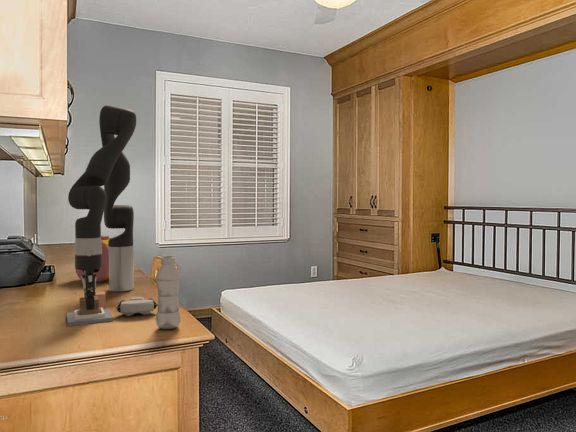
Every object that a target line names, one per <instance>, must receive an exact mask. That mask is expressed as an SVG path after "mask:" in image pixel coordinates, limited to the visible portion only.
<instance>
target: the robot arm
mask: <svg viewBox="0 0 576 432" xmlns="http://www.w3.org/2000/svg"><path fill="white" fill-rule="evenodd" d="M98 121H99V123H98V125H99V134H100V141H101V145H102V146H101V148H100V149H98V150H97V151H95V152H94V153H93V155H92V156H91V157H90V159H89V162H88V164H87V167H86V168H85V171H84V172H83V174H82V175H81V176H79V178H78V179H77V180H76V181H75V182H74V184H72V186H71V188H70V190H69V191H68V198H67V200H68V204H69V205H70V207H72V208H73V209H76V210H88V213H87V215H86V216H83V217H80V218H77V219H76V220H75V223H74V227H75V228H74V229H75V230H74V231H75V233H74V234H75V235H74V236H75V237H74V269H75V268H76V269H77V270H83V275H81V278H82V279H81V285H82V287H83V288H82V289H83V292H84V297H86V309H87V310H93V309H94V297H95V294H96V293H95V292H96V289H97V282H96V274H94V272H93V271H94V269H99V268H101V267H102V242H101V235H102V233H101V232H102V230H101V228H102V226H101V225H102V220H103V221H104V225H105V227H106V228H107V229H115V230H117V229H124V231H123V232H121V233H120V234H119V235H118V234H117V236H113V237H109V238H110V239H109V241H108V252H109V279H108V291H110V292H127V291H133V290H134V287H135V285H134V284H135V281H134V280H135V279H134V278H135V276H134V274H135V273H134V272H135V271H134V270H135V269H134V267H135V265H134V219H135V218H134V216H135V213H134V212H135V211H134V208H133V206H132V205H130V204H115V202H116V200H117V199H118V197H119V196H120V195H121V194H122V193H123V192H124V190H126V189H127V187H128V185H129V184H130V181H131V164H130V162H129V160H128V158H127V156H126V155H125V154H124V152H123V151H124V150H125V148H126V146H127V145H128V143H129V142H130V140H131V138H132V136H133V134H134V132H135V129H136V127H137V114H136V112H135V111H133V110H132V109H128V108H123V107H119V106H114V105H107V104H106V105H103V106H102V108H101V109H100V112H99V120H98ZM115 136H116V137H115Z"/></svg>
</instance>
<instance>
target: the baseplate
mask: <svg viewBox="0 0 576 432" xmlns="http://www.w3.org/2000/svg"><path fill="white" fill-rule="evenodd" d="M66 318H67V319H66V320H67V321H66V322H67V327H71V326H79V325H86V324H87V325H88V324H95V323H104V322H113V321H114V317H113V315H112V313H111V310H110V308H106V309H103V308H99V313H98V314H88V315H80V309H74V311H71V312H66Z"/></svg>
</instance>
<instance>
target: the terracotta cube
mask: <svg viewBox="0 0 576 432" xmlns="http://www.w3.org/2000/svg"><path fill="white" fill-rule="evenodd" d="M95 293H96V294H95V296H98V299H99V308H103V309H107V307H106V306H107V305H106V304H107V301H106V296H107V295H106V292H105V291H104V290H101V291H95Z"/></svg>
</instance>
